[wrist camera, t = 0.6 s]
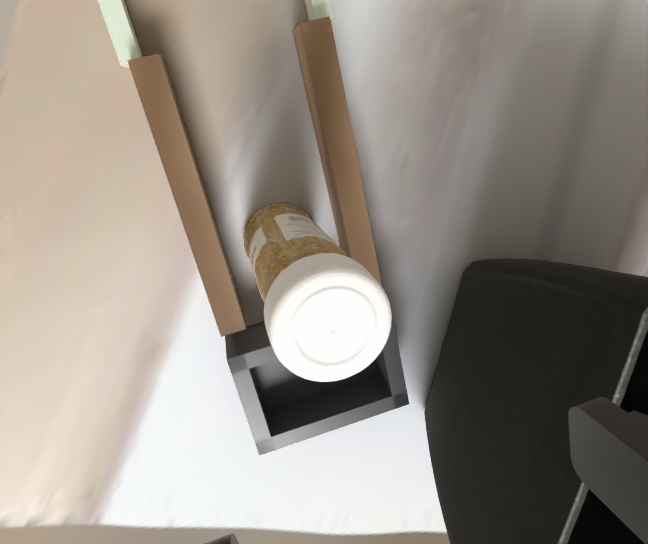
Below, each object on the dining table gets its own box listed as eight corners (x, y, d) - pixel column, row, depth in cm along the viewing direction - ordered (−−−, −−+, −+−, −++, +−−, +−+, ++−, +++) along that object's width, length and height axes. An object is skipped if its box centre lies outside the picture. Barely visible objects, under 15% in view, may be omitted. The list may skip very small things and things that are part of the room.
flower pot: (435, 202, 31) (669, 289, 15) (659, 242, 36) (1007, 338, 20) (371, 450, 36) (496, 709, 20) (575, 454, 41) (802, 663, 25)
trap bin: (372, 288, 31) (390, 308, 28) (390, 376, 34) (409, 403, 31) (225, 333, 30) (226, 359, 27) (254, 421, 33) (259, 455, 29)
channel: (319, 25, 26) (329, 16, 24) (369, 275, 31) (382, 287, 29) (135, 65, 25) (127, 60, 22) (220, 319, 30) (221, 336, 27)
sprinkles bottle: (227, 240, 28) (241, 336, 16) (280, 185, 28) (337, 239, 16) (281, 288, 30) (332, 409, 18) (332, 236, 30) (420, 322, 17)
